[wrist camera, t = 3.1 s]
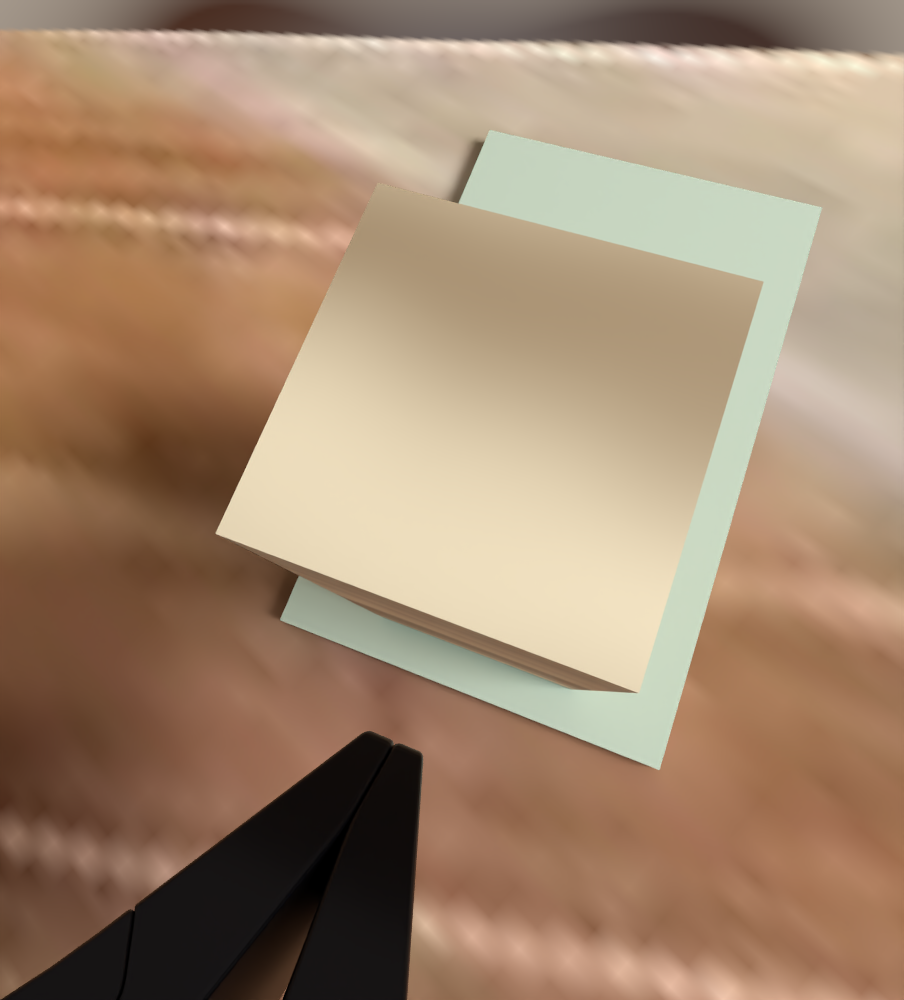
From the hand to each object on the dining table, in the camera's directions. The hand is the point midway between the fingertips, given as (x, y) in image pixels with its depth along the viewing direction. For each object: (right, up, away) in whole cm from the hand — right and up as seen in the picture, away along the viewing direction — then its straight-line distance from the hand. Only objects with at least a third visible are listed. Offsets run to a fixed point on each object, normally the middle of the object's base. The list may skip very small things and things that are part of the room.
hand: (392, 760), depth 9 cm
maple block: (+2, +2, +8) cm, 9 cm away
